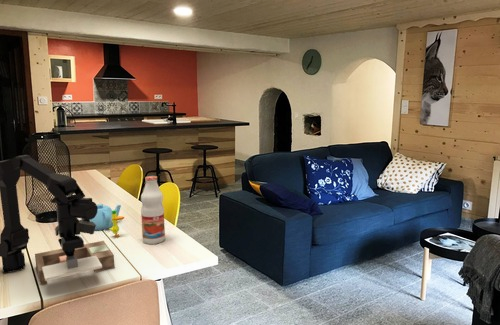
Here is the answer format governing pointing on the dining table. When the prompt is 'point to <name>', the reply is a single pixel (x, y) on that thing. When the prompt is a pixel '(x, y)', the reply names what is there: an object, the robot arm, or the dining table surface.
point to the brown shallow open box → (87, 251)
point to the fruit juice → (152, 212)
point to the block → (62, 259)
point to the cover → (71, 267)
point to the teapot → (104, 217)
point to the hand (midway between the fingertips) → (70, 260)
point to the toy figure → (115, 223)
